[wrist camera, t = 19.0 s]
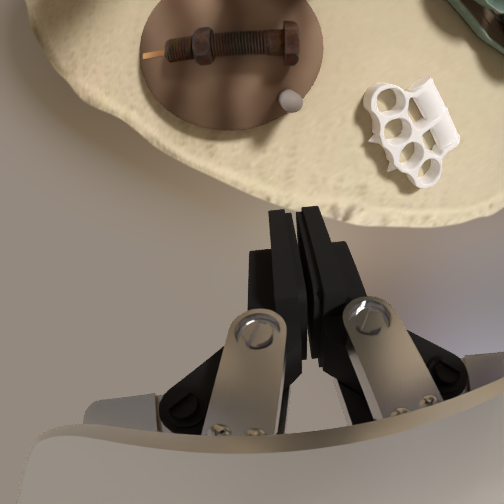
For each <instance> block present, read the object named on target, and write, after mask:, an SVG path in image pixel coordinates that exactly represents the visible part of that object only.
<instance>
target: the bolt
mask: <svg viewBox="0 0 504 504" xmlns="http://www.w3.org/2000/svg"><path fill="white" fill-rule="evenodd" d="M299 51H300V37H299V27H298V24H297V23H296V22H294V21H283V29H269V30H263V31H261V30H260V31H258V30H257V31H255V30H254V31H252V30H251V31H250V32H249V30H248V31H247V32H246V31H244V32H243V31H241V32H240V31H238V32H237V31H236V32H234V31H233V32H231V31H230V32H229V33H228V32H226V33H225V32H224V33H222V32H221V33H219V32H218V33H215V34H214V33H213V30H212V29H211V28H209V27H202V28H198V29H197V30H195V31H194V33H193V35H192V36H189V37H188V36H186V37H183V38H182V37H180V38H175V39H174V38H172V39H169V40H167V41H166V42H165V51H164V55H165V58H166V59H167V61H169V62H170V63H172V62H177V61H185V60H188V59H189V60H191V59H192V60H193V59H195V61H196V63H198V64H199V65H201V66H202V65H210V64H212V63H213V62H214V60H215V57H216V56H217V57H219V56H221V57H222V56H224V57H225V55H226V56H228V55H229V56H231V55H232V56H234V55H235V56H237V55H238V56H240V54H241V56H242V55H243V54H244V55H246V54H247V55H249V54H250V55H252V54H253V55H255V54H256V55H258V54H259V55H261V54H262V55H264V54H265V55H269V56H283V59H284V66H295V65H296V64H297V63H298V61H299Z"/></svg>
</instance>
